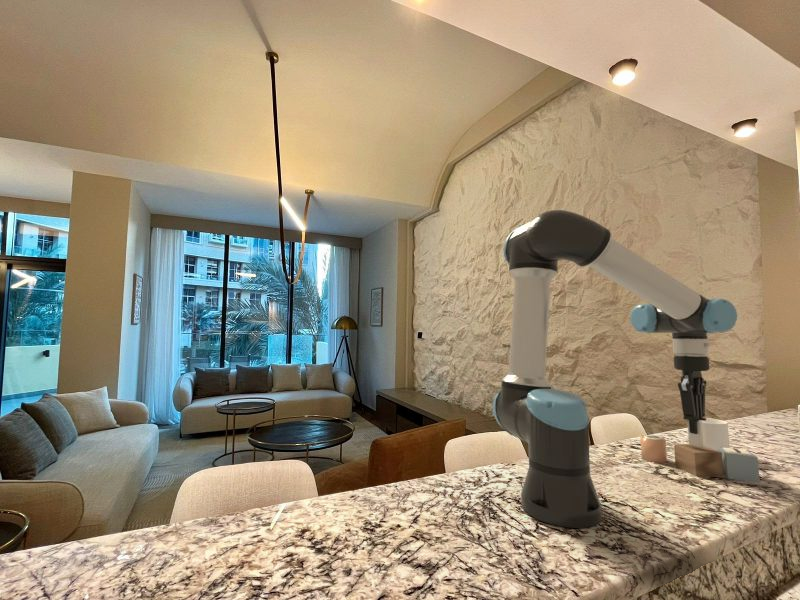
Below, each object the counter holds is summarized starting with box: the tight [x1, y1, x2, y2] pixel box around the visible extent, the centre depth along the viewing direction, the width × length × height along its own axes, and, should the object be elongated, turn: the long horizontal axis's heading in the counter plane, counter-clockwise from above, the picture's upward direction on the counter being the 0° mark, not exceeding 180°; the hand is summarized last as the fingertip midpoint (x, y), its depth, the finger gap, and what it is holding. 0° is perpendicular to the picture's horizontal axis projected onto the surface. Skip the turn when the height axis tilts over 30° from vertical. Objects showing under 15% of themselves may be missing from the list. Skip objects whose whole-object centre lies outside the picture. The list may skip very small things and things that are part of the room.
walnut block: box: [673, 443, 724, 478], centre depth 99 cm, size 7×7×6 cm
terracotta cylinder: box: [640, 434, 668, 464], centre depth 108 cm, size 6×6×6 cm
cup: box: [701, 417, 731, 451], centre depth 112 cm, size 8×12×10 cm
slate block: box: [718, 447, 761, 483], centre depth 95 cm, size 6×6×6 cm
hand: (696, 445), depth 99 cm, fingers closed
